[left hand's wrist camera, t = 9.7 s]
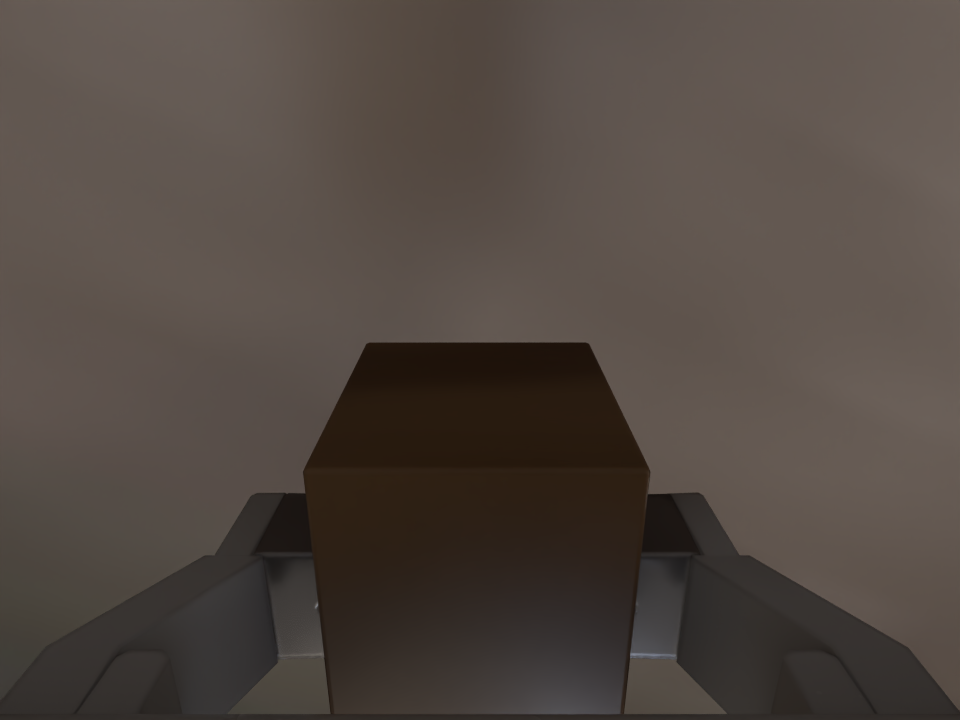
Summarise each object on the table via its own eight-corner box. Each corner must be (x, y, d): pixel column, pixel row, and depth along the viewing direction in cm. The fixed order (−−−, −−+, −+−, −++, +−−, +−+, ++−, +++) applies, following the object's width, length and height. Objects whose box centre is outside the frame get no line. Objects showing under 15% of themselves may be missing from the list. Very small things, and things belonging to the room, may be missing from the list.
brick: (366, 341, 11) (300, 469, 7) (589, 341, 11) (652, 469, 7) (381, 565, 13) (335, 772, 9) (575, 565, 13) (619, 772, 9)
